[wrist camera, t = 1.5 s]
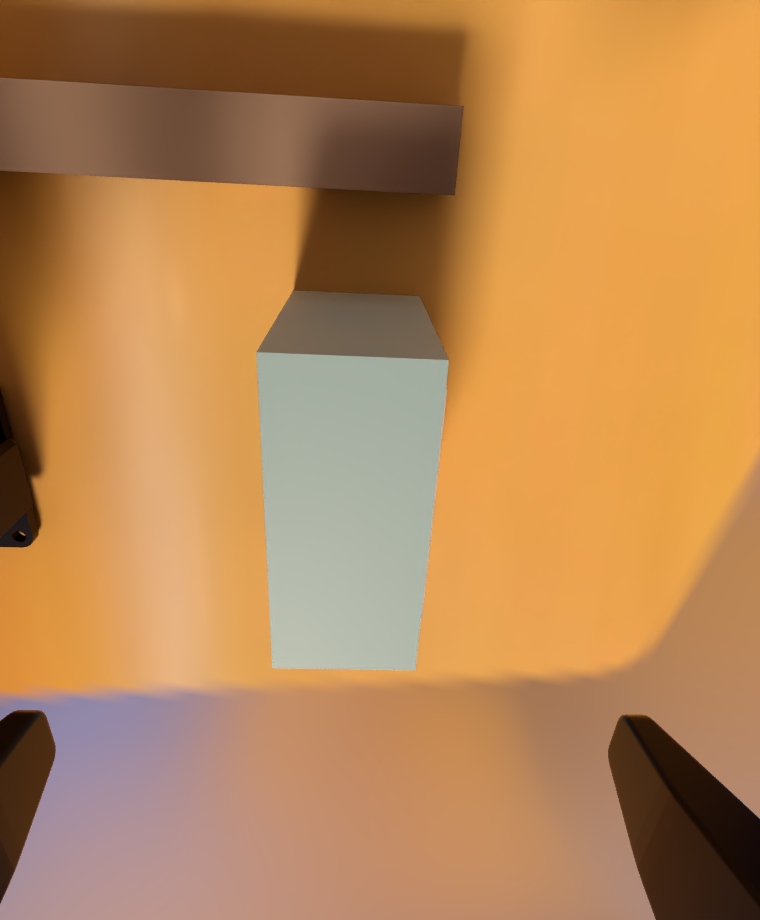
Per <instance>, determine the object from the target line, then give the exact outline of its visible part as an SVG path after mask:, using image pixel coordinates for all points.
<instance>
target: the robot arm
mask: <svg viewBox="0 0 760 920" xmlns="http://www.w3.org/2000/svg"><path fill="white" fill-rule="evenodd" d="M32 505H33V500H32V497H31V493H30V489H29V485H28V482H27V478H26V474H25V470H24V467H23V463H22V459H21V455H20V452H19V448H18V445H17V444H16V442H15V441H14V438H13V434H12V431H11V427H10V423H9V420H8V416H7V412H6V408H5V405H4V401H3V397H2V393H1V391H0V547H27V546H29V545H31V544H32V543H33V542H34V540H35V539H36V538H37V536H38V528H37V524H36V520H35V516H34V513H33V509H32ZM19 531H21V532H23V533H24V534H25V535H26V536H24V535H22V534H20V533H19ZM55 751H56V749H55V743H54V740H53V736H52V733H51V730H50V726H49V723H48V720H47V717H46V715H45V713H43V712H42V711H39V710H18V711H14V712H12V713H10V714H9V715H7V716H6V717H5V718H4V719H2V720H1V721H0V903H1V901H2V899H3V897H4V894H5V892H6V890H7V888H8V885H9V883H10V881H11V879H12V876H13V874H14V872H15V869H16V866H17V864H18V861H19V859H20V856H21V853H22V850H23V847H24V845H25V842H26V839H27V836H28V833H29V830H30V828H31V825H32V822H33V819H34V816H35V813H36V811H37V808H38V805H39V802H40V799H41V796H42V793H43V791H44V788H45V785H46V782H47V779H48V776H49V773H50V771H51V767H52V765H53V761H54V758H55ZM608 758H609V764H610V768H611V772H612V776H613V780H614V783H615V787H616V791H617V795H618V798H619V802H620V806H621V810H622V814H623V817H624V821H625V825H626V829H627V833H628V836H629V840H630V844H631V848H632V851H633V855H634V858H635V862H636V865H637V868H638V871H639V874H640V877H641V880H642V883H643V886H644V889H645V891H646V894H647V897H648V900H649V902H650V905H651V908H652V910H653V913H654V916H655V919H656V920H760V819H759V818H758V817H757V816H756V815H755V814H754V813H753V812H752V811H751V810H750V809H749V808H748V807H747V806H745V805H744V804H743V803H742V802H741V801H740V800H739V799H738V798H737V797H736V796H734V795H733V794H732V793H731V792H730V791H729V790H728V789H727V788H726V787H725V786H724V785H723V784H722V783H721V782H719V781H718V780H717V779H716V778H715V777H714V776H713V775H712V774H711V773H710V772H708V770H707V769H705V768H704V767H703V766H702V765H701V764H700V763H699V762H698V761H697V760H696V759H695V758H694V757H692V756H691V755H690V754H689V753H688V752H687V751H686V750H685V749H684V748H683V747H682V746H681V745H679V744H678V743H677V742H676V741H675V740H674V739H673V738H672V737H671V736H670V735H668V733H667V732H665V731H664V730H663V729H662V728H661V727H660V726H659V725H658V724H657V723H656V722H655V721H654V720H652V719H651V718H650V717H648V716H645V715H622V716H621V717H620V718H619V720H618V722H617V725H616V728H615V730H614V733H613V736H612V739H611V742H610V745H609V749H608Z"/></svg>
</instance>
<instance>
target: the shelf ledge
mask: <svg viewBox="0 0 760 920" xmlns="http://www.w3.org/2000/svg"><path fill="white" fill-rule="evenodd" d="M463 107H464V106H454V105H438V104H421V103H405V102H389V101H373V100H357V99H341V98H324V97H308V96H292V95H276V94H260V93H243V92H227V91H211V90H195V89H179V88H163V87H146V86H130V85H114V84H98V83H82V82H66V81H49V80H33V79H17V78H1V77H0V171H16V172H35V173H53V174H71V175H90V176H108V177H126V178H145V179H163V180H181V181H200V182H218V183H236V184H255V185H273V186H291V187H310V188H328V189H346V190H365V191H383V192H401V193H420V194H438V195H455V187H456V177H457V167H458V157H459V147H460V137H461V127H462V117H463Z"/></svg>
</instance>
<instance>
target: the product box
mask: <svg viewBox="0 0 760 920" xmlns="http://www.w3.org/2000/svg"><path fill="white" fill-rule="evenodd" d="M448 365H449V359H448V357H447V355H446V352H445V350H444V348H443V346H442V344H441V342H440V339H439V337H438V335H437V333H436V331H435V328H434V326H433V324H432V322H431V320H430V318H429V315H428V313H427V311H426V309H425V307H424V305H423V302H422V300H421V298H420V296H409V295H387V294H365V293H344V292H322V291H300V290H293V292H292V294H291V295H290V297H289V299H288V300H287V302H286V304H285V305H284V307H283V309H282V310H281V312H280V314H279V315H278V317H277V319H276V320H275V322H274V324H273V325H272V327H271V329H270V330H269V332H268V334H267V336H266V337H265V339H264V341H263V342H262V344H261V346H260V347H259V349H258V351H257V371H258V391H259V411H260V431H261V451H262V471H263V491H264V511H265V531H266V551H267V571H268V590H269V610H270V630H271V650H272V668H293V669H359V670H416V661H417V651H418V642H419V633H420V624H421V618H422V615H423V606H424V597H425V588H426V579H427V570H428V561H429V551H430V542H431V533H432V524H433V515H434V506H435V497H436V488H437V478H438V469H439V460H440V451H441V442H442V433H443V424H444V414H445V405H446V396H447V387H446V384H447V374H448Z"/></svg>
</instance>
